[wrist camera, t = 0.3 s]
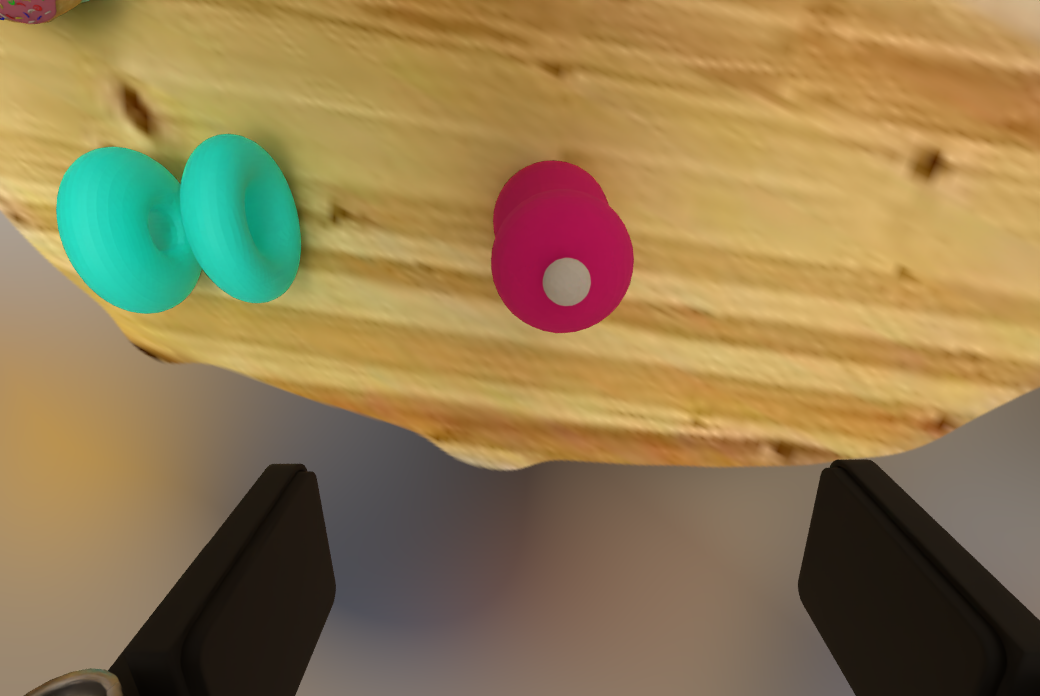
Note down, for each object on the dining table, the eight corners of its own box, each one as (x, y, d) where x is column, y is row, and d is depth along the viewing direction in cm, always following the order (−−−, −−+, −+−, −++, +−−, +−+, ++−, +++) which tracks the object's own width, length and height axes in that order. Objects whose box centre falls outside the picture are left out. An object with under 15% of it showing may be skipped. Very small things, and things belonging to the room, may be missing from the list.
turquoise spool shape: (139, 147, 37) (9, 152, 28) (285, 131, 37) (202, 131, 27) (187, 291, 41) (86, 338, 31) (320, 278, 40) (257, 322, 31)
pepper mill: (481, 241, 39) (438, 340, 20) (520, 140, 37) (511, 146, 18) (575, 279, 40) (616, 407, 21) (619, 183, 37) (708, 231, 19)
